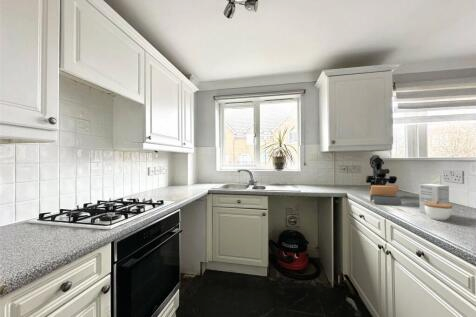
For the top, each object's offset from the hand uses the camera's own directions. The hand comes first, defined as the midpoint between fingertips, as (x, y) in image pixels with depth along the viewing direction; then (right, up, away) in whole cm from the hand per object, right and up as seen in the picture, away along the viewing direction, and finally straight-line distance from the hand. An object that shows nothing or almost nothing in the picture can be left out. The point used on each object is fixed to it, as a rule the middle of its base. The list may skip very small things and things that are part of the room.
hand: (383, 188), depth 146 cm
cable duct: (0, -10, -2) cm, 10 cm away
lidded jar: (+1, -10, -38) cm, 40 cm away
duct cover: (0, -2, 0) cm, 2 cm away
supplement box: (+8, -10, -29) cm, 32 cm away
